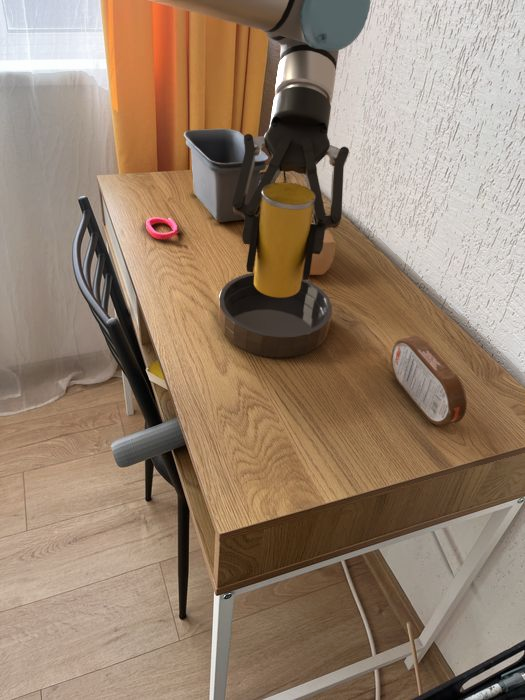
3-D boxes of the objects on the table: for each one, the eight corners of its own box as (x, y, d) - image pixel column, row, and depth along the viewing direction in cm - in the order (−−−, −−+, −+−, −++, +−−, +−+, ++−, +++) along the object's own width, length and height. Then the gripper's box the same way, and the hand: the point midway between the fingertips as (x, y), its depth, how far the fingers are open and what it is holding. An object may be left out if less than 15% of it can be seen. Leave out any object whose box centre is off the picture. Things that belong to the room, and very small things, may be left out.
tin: (456, 434, 73) (478, 391, 68) (438, 439, 72) (458, 396, 67) (399, 365, 84) (414, 323, 78) (382, 368, 83) (396, 326, 77)
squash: (299, 290, 98) (295, 247, 93) (251, 251, 113) (246, 212, 107) (347, 271, 101) (346, 228, 96) (295, 236, 116) (291, 197, 111)
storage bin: (179, 190, 127) (179, 129, 118) (238, 184, 133) (242, 126, 124) (210, 230, 112) (213, 164, 103) (275, 222, 118) (283, 159, 109)
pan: (208, 350, 82) (209, 327, 79) (227, 286, 96) (228, 265, 94) (326, 367, 82) (331, 344, 79) (327, 300, 96) (332, 279, 93)
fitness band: (182, 237, 109) (182, 230, 108) (155, 241, 107) (155, 235, 106) (168, 220, 114) (168, 214, 113) (142, 224, 112) (142, 217, 111)
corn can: (250, 294, 69) (258, 200, 61) (256, 268, 74) (264, 179, 66) (299, 301, 69) (314, 208, 60) (302, 275, 74) (316, 186, 65)
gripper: (371, 125, 72) (349, 290, 70) (231, 107, 72) (205, 270, 70) (383, 93, 64) (359, 277, 62) (226, 73, 65) (197, 254, 63)
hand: (277, 273), depth 66 cm, fingers closed on corn can, 6 cm apart
